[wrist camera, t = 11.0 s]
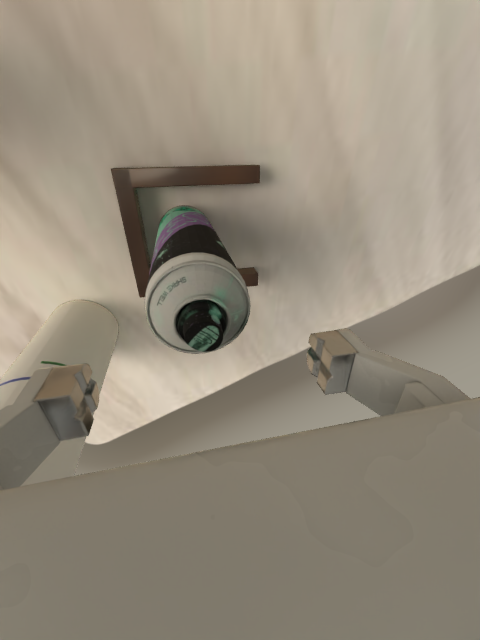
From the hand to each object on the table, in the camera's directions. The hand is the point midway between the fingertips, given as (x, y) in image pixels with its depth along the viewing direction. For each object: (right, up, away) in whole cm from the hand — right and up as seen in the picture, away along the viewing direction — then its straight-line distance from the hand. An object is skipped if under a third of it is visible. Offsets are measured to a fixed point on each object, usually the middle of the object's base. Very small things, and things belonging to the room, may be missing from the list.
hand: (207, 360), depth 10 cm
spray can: (-5, +11, +19) cm, 22 cm away
